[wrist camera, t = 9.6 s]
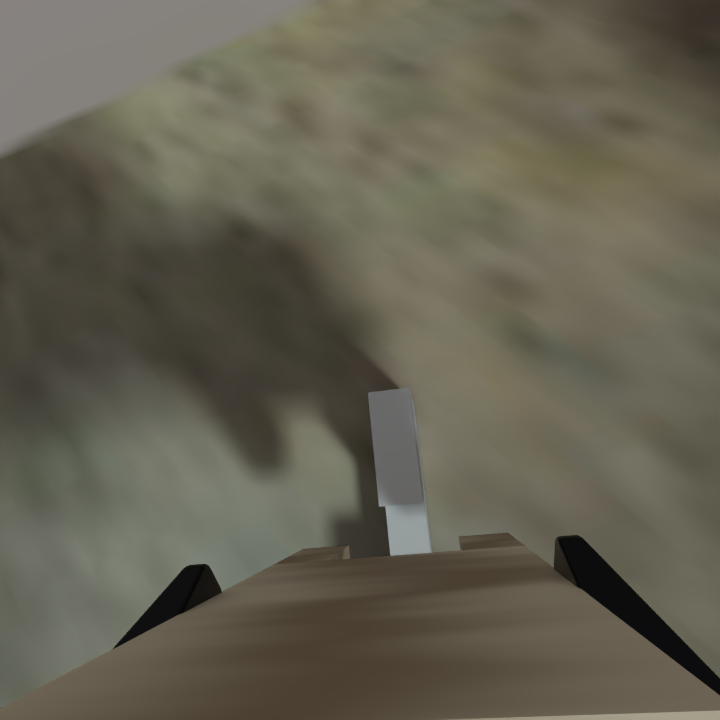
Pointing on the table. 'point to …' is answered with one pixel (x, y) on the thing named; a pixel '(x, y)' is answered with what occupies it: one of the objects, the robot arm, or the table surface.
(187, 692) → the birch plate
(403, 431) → the slotted rail
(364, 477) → the table surface
